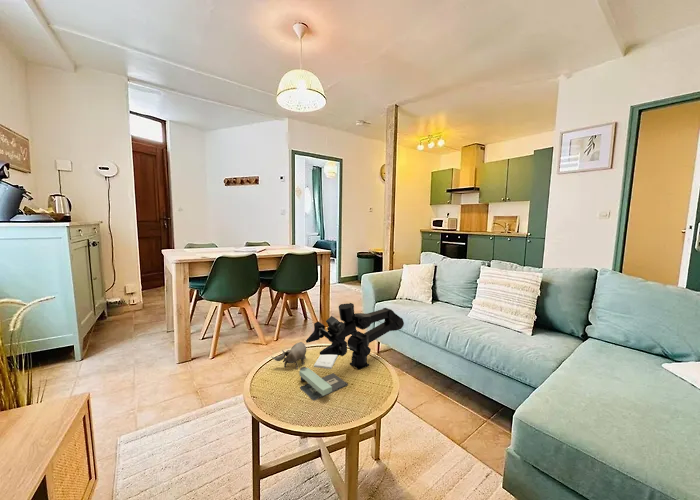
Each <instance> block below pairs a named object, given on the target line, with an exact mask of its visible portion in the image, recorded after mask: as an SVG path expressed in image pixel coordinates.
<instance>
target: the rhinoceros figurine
mask: <svg viewBox="0 0 700 500" xmlns="http://www.w3.org/2000/svg"><path fill="white" fill-rule="evenodd" d="M281 352H282V353H281V354H280V355H276V357H275V356H271V358H272V359H273V360H275V361H276V362H280V361H282V362H283V363H284V365H283V366H284V368H285V369H286V368H287V364H295V370H298V369H299V365H298V361H299V360H300V361H301V362H300V365H301V366H304V365H305V359H307V358H306V355H307V354H306V353H307V346H306V344H305V343H304V342H302V341H299V342H297V343H295V344H294V345H292V347H291V348H290V349H287V350H286V351H284V349H282V350H281Z"/></svg>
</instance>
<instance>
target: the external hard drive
mask: <svg viewBox="0 0 700 500" xmlns="http://www.w3.org/2000/svg"><path fill="white" fill-rule="evenodd" d="M338 357H339V356H338V355H320V354H319V357H318V358H317V359H316V361H315V362H314V364H313V368H318V369H319V368H320V369H326V370H328V369H329V370H332V368H333V366H335V363H336V360H337V359H338Z"/></svg>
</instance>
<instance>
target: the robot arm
mask: <svg viewBox="0 0 700 500" xmlns="http://www.w3.org/2000/svg"><path fill="white" fill-rule="evenodd" d="M338 311H339V319H340V320H338V319H337V318H336V317H334V316H333V315H331V316H330V317H328V318H327V319H326V320H325V322H326V324H327V326H328V327H327V329H326V327H325V326H326V325H324V324H323V323H322V322H320V321H316V322H314V323H313V328H314V329H313V331H312V333H311V334H310V336H308V338H306V339H305V343H306V344H308V343H312V342H316V341H320V340H321V339H322V338H324V337H325V338H326V339H328V341H329V342H330V343H331V344H330V345H328V346H326V347H325V348H323V349H321V350H320V351H319V356H320V355H338V357H339V356H340V357H343V356H345V355H347V353H348V348H349V350H350V351H352V353H351V362H349V365H350V366H352V367H354V368H355V369H357V370H361V369H364V368H366V367H369V366H370V363H369V362H368V355H370V354H371V350H372V349H371V348H370V347H369V346H370V343H373V342H374V341H375V340H377V339H379V338H380V337H382V336H384V335H385V334H387V333H389V332H392V331H393V332H396V331H399V330H401V329H402V328H403V327H404V326H405V322H404V319H403V318H402V317H401V316H399V315H398V314H397V313H395V312H394V310H392V309H390V308H387V307H383V308H382V309H377V310H374V311H372V312H367V313H361V312H360V313H359V312H357V313H355V306H354V303H351V302H349V303H340V304H339V305H338ZM382 320H384V321H383V322H382V323H380V324H378V325H377V326H374V327H373V328H372V329H371V328H370V327H371V324H375V323H377V322H380V321H382ZM357 328H358V329H360V330H362V331H363V330H366V329H368V328H370V329H369V330H367V331H365V332H361V331H358V330H357ZM348 336H349V337H348ZM346 337H348V339H347V340H346Z"/></svg>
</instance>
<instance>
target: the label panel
mask: <svg viewBox="0 0 700 500" xmlns="http://www.w3.org/2000/svg"><path fill="white" fill-rule="evenodd" d="M321 378H322V379H323V380H324V381H326V382H327V383H328V384H329V385H331V386H332V392H330V393H328V394H326V395H324V396H323V395H321V394H320V393H319V392H318V391H317V390H316V389H315V388H313V387H312V386H311V385H310V384H309V383H308V382H307V383H305V384H304V385H301V386H299V389H300V390H301V391H302V392H303V393H305V394H306V395H307V397H309V398H310V399H311V400H312V401H313V402H314V401H317V400H319V399H321V398H323V397H326V396H327V395H331V394H332V393H334V392H337V391H338V390H341V389H343V388H345V387H347V386H349V383H348V382H346V381H345V380H343V379H342V378H341V377H339V376H338V375H337V374H335V373H329V374H327V375H325V376H322V377H321ZM300 381H301V382H303V383H304V382H306V381H305V380H304V379H303V378H302V377H301V376H300Z"/></svg>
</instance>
